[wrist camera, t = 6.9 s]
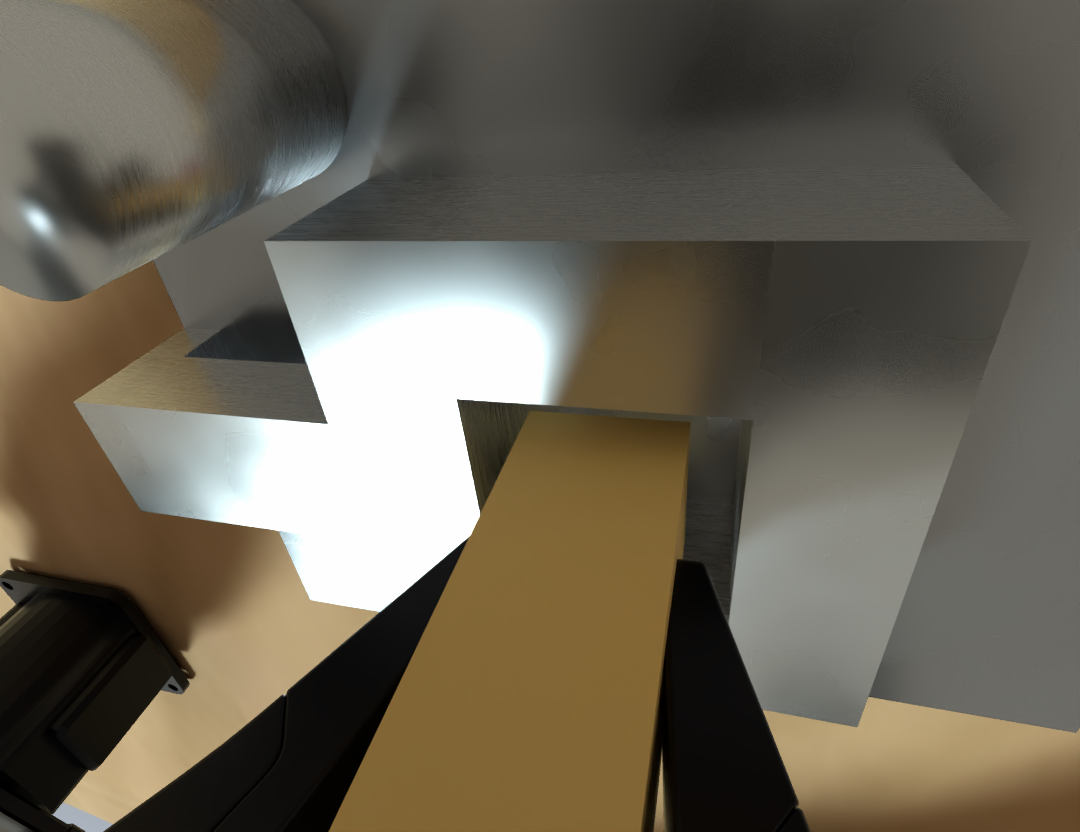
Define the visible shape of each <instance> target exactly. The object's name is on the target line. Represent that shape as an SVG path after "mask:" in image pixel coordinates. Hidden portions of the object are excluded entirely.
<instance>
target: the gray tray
mask: <svg viewBox="0 0 1080 832" xmlns="http://www.w3.org/2000/svg"><path fill="white" fill-rule="evenodd" d="M152 260H153V261H154V264H155V266H156V268H157V270H158V272H159V274H160V277H161V279H162V281H163V283H164V285H165V287H166V290H167V292H168V294H169V296H170V298H171V300H172V302H173V305H174V307H175V309H176V311H177V313H178V315H179V318H180V320H181V322H182V324H183V326H184V329H182V330H181V331H179V332H178V333H176V334H175V335H173V336H172V337H170V338H169V339H167V340H166V341H164V342H163V343H161V344H160V345H158V346H157V347H155V348H154V349H152V350H151V351H149V352H148V353H146V354H145V355H143V356H142V357H140V358H139V359H137V360H136V361H134V362H133V363H131V364H130V365H128V366H127V367H125V368H124V369H122V370H121V371H119V372H118V373H116V374H114V375H113V376H111V377H110V378H108V379H107V380H105V381H104V382H102V383H101V384H99V385H98V386H96V387H95V388H93V389H92V390H90V391H89V392H87V393H86V394H84V395H83V396H81V397H80V398H78V399H77V400H75V401H74V402H73V403H74V404H75V406H76V407H77V409H78V411H79V412H80V414H81V415H82V417H83V419H84V420H85V422H86V423H87V425H88V427H89V428H90V430H91V432H92V433H93V435H94V436H95V438H96V440H97V441H98V443H99V444H100V446H101V448H102V449H103V451H104V452H105V454H106V456H107V457H108V459H109V460H110V462H111V464H112V465H113V467H114V468H115V470H116V472H117V473H118V475H119V476H120V478H121V480H122V481H123V483H124V485H125V486H126V488H127V489H128V491H129V493H130V494H131V496H132V497H133V499H134V501H135V502H136V504H137V505H138V507H139V509H140V510H141V511H145V512H152V513H159V514H166V515H173V516H180V517H187V518H194V519H201V520H209V521H216V522H223V523H230V524H237V525H244V526H251V527H258V528H265V529H272V530H278V531H279V533H280V535H281V537H282V539H283V542H284V544H285V546H286V548H287V550H288V552H289V555H290V557H291V559H292V561H293V563H294V565H295V567H296V570H297V572H298V574H299V576H300V578H301V580H302V583H303V585H304V587H305V589H306V591H307V593H308V596H309V598H310V600H315V601H320V602H326V603H332V604H338V605H343V606H349V607H355V608H361V609H366V610H372V611H378V612H380V611H382V610H383V609H384V608H385V607H386V606H388V605H389V604H390V603H391V602H392V601H393V600H395V599H396V598H397V597H398V596H399V595H400V594H402V593H403V592H404V591H405V590H406V589H408V588H409V587H410V586H411V585H412V584H413V583H415V582H416V581H417V580H418V579H419V578H420V577H422V576H423V575H424V574H425V573H426V572H427V571H429V570H430V569H431V568H432V567H433V566H435V565H436V564H437V563H438V562H439V561H440V560H442V559H443V558H444V557H445V556H446V555H447V554H449V553H450V552H451V551H452V550H453V549H455V548H456V547H457V546H458V545H459V544H460V543H462V542H463V541H464V540H465V539H466V538H467V537H469V536H470V535H471V533H472V530H473V528H474V526H475V524H476V522H477V520H478V518H479V516H480V514H481V512H482V509H483V507H484V505H485V503H486V501H487V499H488V497H489V495H490V493H491V491H492V489H493V486H494V484H495V482H496V480H497V478H498V476H499V474H500V472H501V470H502V468H503V466H504V463H505V461H506V459H507V457H508V455H509V453H510V451H511V449H512V447H513V445H514V443H515V440H516V438H517V436H518V434H519V432H520V430H521V428H522V426H523V424H524V422H525V419H526V417H527V415H528V413H529V411H541V412H555V413H569V414H582V415H596V416H610V417H624V418H638V419H652V420H666V421H680V422H690V443H689V464H688V484H687V505H686V525H685V543H684V552H683V559H684V560H692V561H699V562H702V563H704V565H705V566H706V568H707V570H708V573H709V576H710V578H711V581H712V583H713V586H714V588H715V591H716V593H717V596H718V598H719V601H720V604H721V606H722V609H723V611H724V614H725V616H726V619H727V621H728V624H729V626H730V629H731V631H732V634H733V637H734V639H735V642H736V644H737V647H738V649H739V652H740V654H741V657H742V659H743V662H744V664H745V667H746V670H747V672H748V675H749V677H750V680H751V682H752V685H753V687H754V690H755V692H756V695H757V698H758V700H759V703H760V705H761V708H762V710H767V711H773V712H778V713H783V714H789V715H794V716H799V717H805V718H810V719H816V720H821V721H826V722H832V723H837V724H842V725H848V726H853V727H858V724H859V721H860V718H861V716H862V713H863V710H864V707H865V704H866V702H867V699H868V697H873V698H879V699H885V700H890V701H896V702H902V703H908V704H913V705H919V706H925V707H931V708H936V709H942V710H948V711H954V712H959V713H965V714H971V715H977V716H983V717H988V718H994V719H1000V720H1006V721H1011V722H1017V723H1023V724H1029V725H1034V726H1040V727H1046V728H1052V729H1057V730H1063V731H1069V732H1075V733H1076V732H1077V731H1078V730H1079V728H1080V0H0V285H2V286H4V287H6V288H8V289H10V290H12V291H14V292H17V293H20V294H23V295H26V296H28V297H32V298H36V299H41V300H48V301H69V300H73V299H77V298H80V297H82V296H84V295H86V294H88V293H90V292H92V291H94V290H96V289H98V288H100V287H102V286H104V285H105V284H107V283H109V282H111V281H113V280H115V279H117V278H119V277H121V276H123V275H125V274H127V273H129V272H131V271H133V270H135V269H137V268H138V267H140V266H142V265H144V264H146V263H148V262H150V261H152Z"/></svg>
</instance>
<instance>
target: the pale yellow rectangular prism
mask: <svg viewBox="0 0 1080 832" xmlns="http://www.w3.org/2000/svg"><path fill="white" fill-rule="evenodd" d="M689 443H690V422H680V421H666V420H652V419H638V418H624V417H610V416H596V415H582V414H569V413H555V412H541V411H529V413H528V415H527V417H526V419H525V422H524V424H523V426H522V428H521V430H520V432H519V434H518V436H517V438H516V440H515V443H514V445H513V447H512V449H511V451H510V453H509V455H508V457H507V459H506V461H505V463H504V466H503V468H502V470H501V472H500V474H499V476H498V478H497V480H496V482H495V484H494V486H493V489H492V491H491V493H490V495H489V497H488V499H487V501H486V503H485V505H484V507H483V509H482V512H481V514H480V516H479V518H478V520H477V522H476V524H475V526H474V528H473V530H472V533H471V535H470V537H469V539H468V541H467V543H466V545H465V547H464V549H463V551H462V553H461V556H460V558H459V560H458V562H457V564H456V566H455V568H454V570H453V572H452V574H451V576H450V579H449V581H448V583H447V585H446V587H445V589H444V591H443V593H442V595H441V597H440V600H439V602H438V604H437V606H436V608H435V610H434V612H433V614H432V616H431V618H430V620H429V623H428V625H427V627H426V629H425V631H424V633H423V635H422V637H421V639H420V641H419V643H418V646H417V648H416V650H415V652H414V654H413V656H412V658H411V660H410V662H409V664H408V667H407V669H406V671H405V673H404V675H403V677H402V679H401V681H400V683H399V685H398V687H397V690H396V692H395V694H394V696H393V698H392V700H391V702H390V704H389V706H388V708H387V710H386V713H385V715H384V717H383V719H382V721H381V723H380V725H379V727H378V729H377V731H376V733H375V736H374V738H373V740H372V742H371V744H370V746H369V748H368V750H367V752H366V754H365V757H364V759H363V761H362V763H361V765H360V767H359V769H358V771H357V773H356V775H355V777H354V780H353V782H352V784H351V786H350V788H349V790H348V792H347V794H346V796H345V798H344V800H343V803H342V805H341V807H340V809H339V811H338V813H337V815H336V817H335V819H334V821H333V824H332V826H331V828H330V830H329V832H654V822H655V813H656V804H657V794H658V785H659V776H660V766H661V757H662V731H663V695H664V659H665V647H666V639H667V631H668V623H669V616H670V608H671V601H672V593H673V586H674V578H675V571H676V563H677V559H683V552H684V543H685V525H686V505H687V484H688V464H689Z"/></svg>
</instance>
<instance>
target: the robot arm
mask: <svg viewBox="0 0 1080 832" xmlns="http://www.w3.org/2000/svg"><path fill="white" fill-rule="evenodd" d="M469 537H470V536H469ZM469 537H467V538H466V539H465V540H464V541H463V542H462V543H460V544H459V545H458V546H457V547H456V548H455V549H453V550H452V551H451V552H450V553H449V554H447V555H446V556H445V557H444V558H443V559H442V560H440V561H439V562H438V563H437V564H436V565H435V566H433V567H432V568H431V569H430V570H429V571H427V572H426V573H425V574H424V575H423V576H422V577H420V578H419V579H418V580H417V581H416V582H415V583H413V584H412V585H411V586H410V587H409V588H408V589H406V590H405V591H404V592H403V593H402V594H400V595H399V596H398V597H397V598H396V599H395V600H393V601H392V602H391V603H390V604H389V605H388V606H386V607H385V608H384V609H383V610H382V611H380V612H379V613H378V614H377V615H376V616H375V617H373V618H372V619H371V620H370V621H369V622H368V623H366V624H365V625H364V626H363V627H362V628H360V629H359V630H358V631H357V632H356V633H355V634H353V635H352V636H351V637H350V638H349V639H348V640H346V641H345V642H344V643H343V644H342V645H340V646H339V647H338V648H337V649H336V650H335V651H333V652H332V653H331V654H330V655H329V656H328V657H326V658H325V659H324V660H323V661H322V662H320V663H319V664H318V665H317V666H316V667H315V668H313V669H312V670H311V671H310V672H309V673H308V674H306V675H305V676H304V677H303V678H302V679H300V680H299V681H298V682H297V683H296V684H295V685H293V686H292V687H291V688H290V689H289V690H288V691H287V694H286V695H281V696H280V697H279V698H278V699H277V700H275V701H274V702H273V703H272V704H271V705H270V706H268V707H267V708H266V709H265V710H264V711H263V712H261V713H260V714H259V715H258V716H257V717H255V718H254V719H253V720H252V721H250V722H249V723H248V724H247V725H245V726H244V727H243V728H242V729H241V730H239V731H238V732H237V733H236V734H234V735H233V736H232V737H231V738H230V739H228V740H227V741H226V742H225V743H223V744H222V745H221V746H219V747H218V748H217V749H215V750H214V751H213V752H211V753H210V754H209V755H207V756H206V757H205V758H203V759H202V760H201V761H200V762H198V763H197V764H196V765H194V766H193V767H192V768H190V769H189V770H188V771H186V772H185V773H184V774H182V775H181V776H179V777H178V778H177V779H175V780H174V781H173V782H171V783H170V784H168V785H167V786H166V787H164V788H163V789H162V790H160V791H159V792H157V793H156V794H155V795H153V796H152V797H150V798H149V799H148V800H146V801H145V802H144V803H142V804H141V805H139V806H138V807H137V808H135V809H134V810H133V811H131V812H130V813H128V814H127V815H126V816H124V817H123V818H121V819H120V820H119V821H117V822H116V823H115V824H113V825H112V826H110V827H109V828H108V829H106V830H105V831H104V832H329V830H330V828H331V826H332V824H333V821H334V819H335V817H336V815H337V813H338V811H339V809H340V807H341V805H342V803H343V800H344V798H345V796H346V794H347V792H348V790H349V788H350V786H351V784H352V782H353V780H354V777H355V775H356V773H357V771H358V769H359V767H360V765H361V763H362V761H363V759H364V757H365V754H366V752H367V750H368V748H369V746H370V744H371V742H372V740H373V738H374V736H375V733H376V731H377V729H378V727H379V725H380V723H381V721H382V719H383V717H384V715H385V713H386V710H387V708H388V706H389V704H390V702H391V700H392V698H393V696H394V694H395V692H396V690H397V687H398V685H399V683H400V681H401V679H402V677H403V675H404V673H405V671H406V669H407V667H408V664H409V662H410V660H411V658H412V656H413V654H414V652H415V650H416V648H417V646H418V643H419V641H420V639H421V637H422V635H423V633H424V631H425V629H426V627H427V625H428V623H429V620H430V618H431V616H432V614H433V612H434V610H435V608H436V606H437V604H438V602H439V600H440V597H441V595H442V593H443V591H444V589H445V587H446V585H447V583H448V581H449V579H450V576H451V574H452V572H453V570H454V568H455V566H456V564H457V562H458V560H459V558H460V556H461V553H462V551H463V549H464V547H465V545H466V543H467V541H468V539H469ZM0 586H1V587H2V588H3V590H4V591H5V592H6V593H7V594H8V595H9V596H10V598H11V599H12V600H13V601H14V602H15V603H16V605H15V606H14V607H13V608H12V609H11V610H9V611H8V612H7V613H6V614H5V615H4V616H3V617H2V618H0V832H85V831H84V830H82V829H81V828H79V827H77V826H76V825H74V824H66V823H65V822H63V821H61V820H59V819H58V818H56V817H55V816H53V815H51V814H54V813H55V811H56V810H57V809H58V808H59V806H60V805H61V804H62V803H63V801H64V800H65V799H66V798H67V796H68V795H69V794H70V793H71V791H72V790H73V789H74V788H75V786H76V785H77V784H78V783H79V782H80V780H81V779H82V778H83V777H84V775H85V774H86V773H87V772H88V770H91V771H93V770H96V769H97V768H98V767H99V766H100V765H101V764H102V763H103V762H104V760H105V759H106V758H107V757H108V755H109V754H110V753H111V752H112V750H113V749H114V748H115V747H116V745H117V744H118V743H119V742H120V740H121V739H122V738H123V736H124V735H125V734H126V733H127V731H128V730H129V729H130V728H131V726H132V725H133V724H134V723H135V721H136V720H137V719H138V718H139V716H140V715H141V714H142V713H143V711H144V710H145V709H146V708H147V706H148V705H149V704H150V703H151V701H152V700H153V699H154V698H155V696H156V695H157V694H158V693H159V691H160V690H163V691H167V692H171V693H176V694H183V693H184V692H185V690H186V689H187V688H188V686H189V684H190V683H189V681H188V680H187V678H186V677H185V676H184V674H183V673H182V671H181V670H180V669H179V667H178V666H177V664H176V663H175V662H174V660H173V659H172V657H171V656H170V655H169V653H168V652H167V650H166V649H165V648H164V646H163V645H162V643H161V642H160V641H159V639H158V638H157V636H156V635H155V634H154V632H153V631H152V629H151V628H150V627H149V625H148V624H147V622H146V621H145V620H144V618H143V617H142V615H141V614H140V613H139V611H138V610H137V608H136V607H135V606H134V604H133V603H132V601H131V600H130V599H129V598H128V597H127V596H126V595H125V594H123V593H121V592H119V591H117V590H113V589H108V588H102V587H97V586H92V585H86V584H81V583H76V582H70V581H65V580H59V579H54V578H49V577H43V576H38V575H33V574H27V573H22V572H17V571H11V570H6V571H5V572H4V573H3V574H2V575H0ZM662 762H663V805H664V832H811V831H810V829H809V826H808V824H807V821H806V819H805V816H804V813H803V811H802V810H801V809H799V808H798V805H799V802H798V799H797V797H796V794H795V791H794V789H793V786H792V784H791V781H790V779H789V776H788V774H787V771H786V769H785V766H784V764H783V761H782V758H781V756H780V753H779V751H778V748H777V746H776V743H775V741H774V738H773V736H772V733H771V731H770V728H769V725H768V723H767V720H766V718H765V715H764V713H763V710H762V708H761V705H760V703H759V700H758V698H757V695H756V692H755V690H754V687H753V685H752V682H751V680H750V677H749V675H748V672H747V670H746V667H745V664H744V662H743V659H742V657H741V654H740V652H739V649H738V647H737V644H736V642H735V639H734V637H733V634H732V631H731V629H730V626H729V624H728V621H727V619H726V616H725V614H724V611H723V609H722V606H721V604H720V601H719V598H718V596H717V593H716V591H715V588H714V586H713V583H712V581H711V578H710V576H709V573H708V570H707V568H706V566H705V565H704V563H702V562H699V561H692V560H684V559H677V563H676V571H675V578H674V586H673V593H672V601H671V608H670V616H669V623H668V631H667V639H666V647H665V659H664V695H663V731H662Z"/></svg>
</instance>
